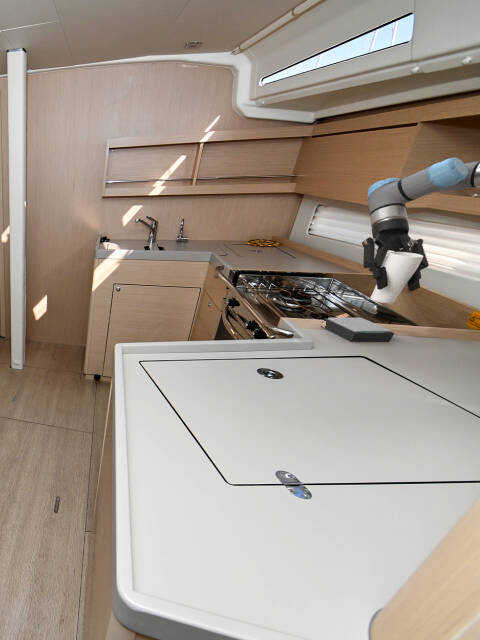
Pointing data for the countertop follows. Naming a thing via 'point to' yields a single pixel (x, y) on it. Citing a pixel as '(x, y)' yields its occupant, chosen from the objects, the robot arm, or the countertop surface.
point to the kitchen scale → (358, 330)
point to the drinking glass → (397, 275)
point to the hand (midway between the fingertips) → (398, 288)
